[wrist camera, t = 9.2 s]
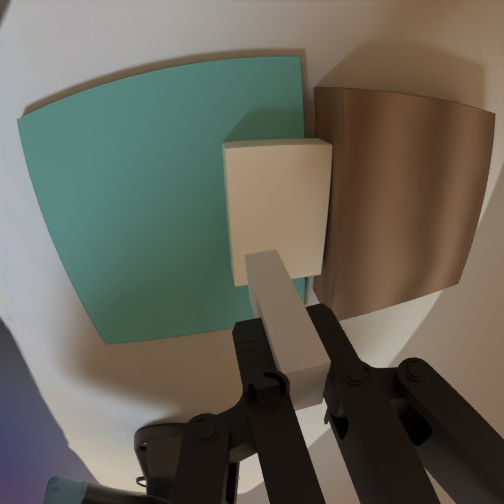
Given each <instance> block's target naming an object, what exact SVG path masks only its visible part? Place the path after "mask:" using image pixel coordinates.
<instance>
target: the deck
mask: <svg viewBox="0 0 504 504" xmlns="http://www.w3.org/2000/svg"><path fill="white" fill-rule="evenodd" d="M314 95H315V118H316V138H320V139H322V140H324V141H326V142H328V143H330V144H332V145H333V147H332V164H331V179H330V192H329V204H328V215H327V225H326V235H325V244H324V252H323V260H322V268H321V275H315V276H314V286H313V291H314V292H315V294H316V296H317V298H318V300H319V302H320V304H321V303H323V304H324V305H326V306H327V307H328V308H330V309H331V310H332V311H333V313H334V314H335V316H336V318H337V320H338V321H340V320H344V319H348V318H352V317H355V316H359V315H363V314H366V313H370V312H373V311H377V310H380V309H384V308H387V307H390V306H394V305H397V304H400V303H403V302H407V301H410V300H413V299H416V298H419V297H422V296H425V295H428V294H431V293H434V292H437V291H439V290H442V289H445V288H448V287H450V286H453V285H456V284H458V283H459V280H460V278H461V275H462V272H463V269H464V266H465V264H466V261H467V258H468V255H469V252H470V248H471V245H472V242H473V239H474V235H475V232H476V228H477V224H478V221H479V217H480V213H481V209H482V204H483V200H484V195H485V191H486V186H487V180H488V175H489V169H490V162H491V155H492V147H493V139H494V128H495V113H491V112H488V111H485V110H482V109H478V108H475V107H471V106H467V105H463V104H459V103H455V102H450V101H446V100H441V99H436V98H430V97H424V96H418V95H412V94H405V93H397V92H389V91H379V90H368V89H354V88H332V87H314Z"/></svg>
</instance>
